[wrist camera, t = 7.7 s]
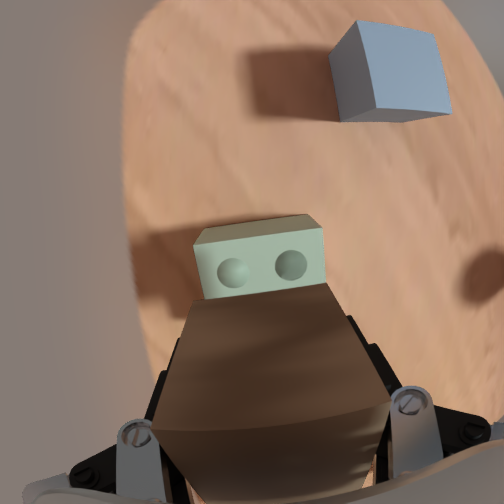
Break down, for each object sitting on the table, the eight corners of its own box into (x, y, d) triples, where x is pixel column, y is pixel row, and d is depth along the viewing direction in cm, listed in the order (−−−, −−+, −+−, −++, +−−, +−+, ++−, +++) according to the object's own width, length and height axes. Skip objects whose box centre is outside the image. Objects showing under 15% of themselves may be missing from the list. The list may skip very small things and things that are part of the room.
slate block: (390, 60, 15) (433, 34, 10) (402, 122, 17) (452, 114, 11) (327, 55, 15) (356, 20, 10) (340, 122, 17) (376, 108, 11)
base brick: (308, 214, 19) (322, 227, 15) (314, 306, 21) (327, 336, 17) (204, 228, 19) (192, 245, 15) (222, 318, 21) (217, 350, 17)
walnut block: (326, 282, 10) (392, 400, 5) (327, 379, 12) (360, 489, 6) (193, 300, 11) (150, 429, 5) (219, 393, 12) (209, 506, 6)
